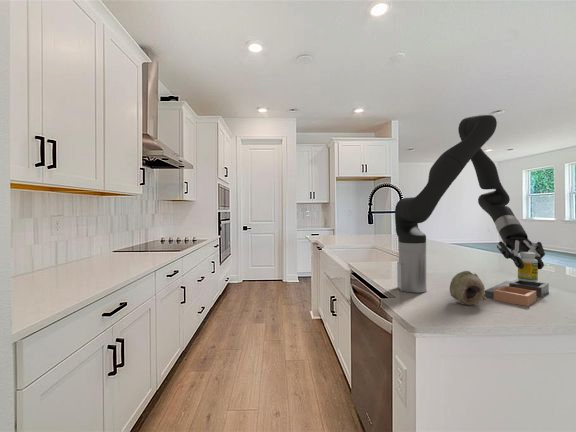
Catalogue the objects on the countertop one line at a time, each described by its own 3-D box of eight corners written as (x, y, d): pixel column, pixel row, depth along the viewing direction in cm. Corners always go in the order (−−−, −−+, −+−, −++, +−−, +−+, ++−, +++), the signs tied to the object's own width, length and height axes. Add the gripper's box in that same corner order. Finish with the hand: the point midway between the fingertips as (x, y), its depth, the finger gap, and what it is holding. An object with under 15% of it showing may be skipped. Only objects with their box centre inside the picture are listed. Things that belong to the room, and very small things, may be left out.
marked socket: (527, 306, 86) (527, 296, 86) (493, 299, 93) (493, 290, 93) (536, 300, 91) (536, 291, 91) (503, 294, 98) (503, 285, 98)
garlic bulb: (443, 301, 92) (443, 269, 92) (462, 297, 96) (462, 267, 95) (473, 310, 84) (472, 275, 83) (492, 306, 87) (492, 272, 87)
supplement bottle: (521, 277, 105) (521, 250, 104) (540, 280, 100) (540, 252, 100) (515, 279, 102) (515, 252, 101) (534, 283, 97) (534, 254, 97)
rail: (529, 305, 87) (529, 295, 87) (484, 296, 96) (484, 287, 96) (548, 292, 100) (548, 283, 100) (507, 285, 109) (507, 277, 109)
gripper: (493, 223, 109) (512, 261, 97) (536, 223, 107) (561, 261, 95) (485, 236, 114) (503, 273, 103) (526, 236, 112) (549, 274, 101)
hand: (531, 267), depth 99 cm, fingers closed on supplement bottle, 5 cm apart
